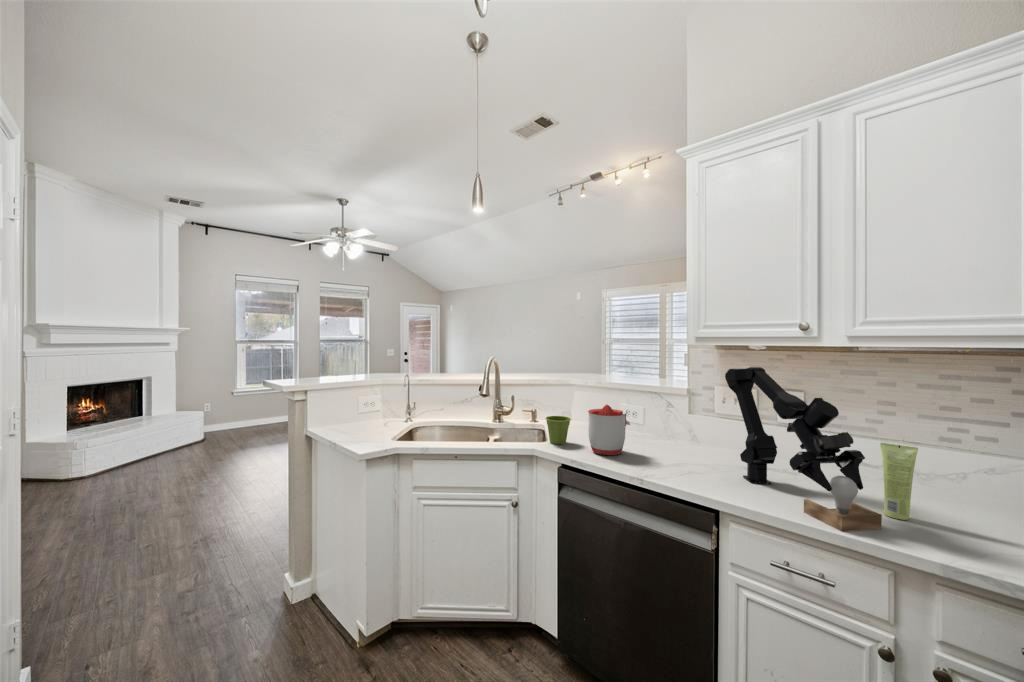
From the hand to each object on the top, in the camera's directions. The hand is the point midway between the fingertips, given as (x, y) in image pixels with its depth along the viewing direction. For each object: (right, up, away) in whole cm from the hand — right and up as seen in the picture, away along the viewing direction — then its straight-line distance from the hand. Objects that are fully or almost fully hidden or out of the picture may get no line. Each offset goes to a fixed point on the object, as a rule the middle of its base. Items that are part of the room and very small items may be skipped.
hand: (846, 489), depth 109 cm
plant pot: (-66, -8, +81) cm, 105 cm away
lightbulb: (0, -8, +2) cm, 8 cm away
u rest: (0, -9, +1) cm, 9 cm away
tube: (+17, -9, +4) cm, 20 cm away
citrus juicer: (-47, -8, +66) cm, 81 cm away
